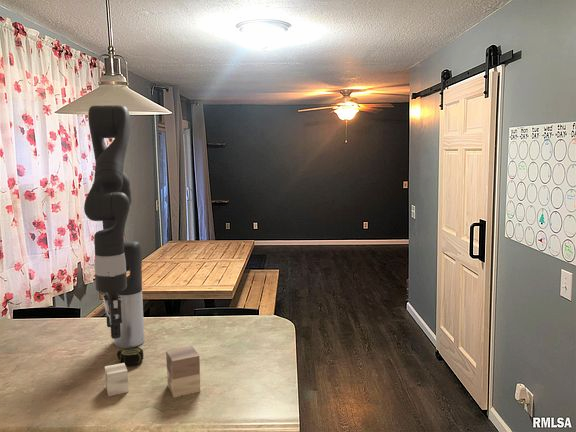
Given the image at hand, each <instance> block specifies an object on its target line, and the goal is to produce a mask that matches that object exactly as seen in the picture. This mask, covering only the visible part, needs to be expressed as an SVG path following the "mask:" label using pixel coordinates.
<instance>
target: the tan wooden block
mask: <svg viewBox="0 0 576 432" xmlns="http://www.w3.org/2000/svg"><path fill="white" fill-rule="evenodd" d="M166 375H167V377H166V378H167V379H166V380H167V381H166V382H167V387H168V389H169V392H171V395H172V397H173V398H177V397H176V396H178V397H182V396H181V395H183V396H186V394H187V395H191V394H190V393H192V394H194V393H195V392H196V393H200V392H201V373H200V374H197V375H193V376H188V377H183V378H178V379H174V380H173V379H172V377H171V375H170V373H169V371H168V370H167V369H166Z"/></svg>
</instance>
